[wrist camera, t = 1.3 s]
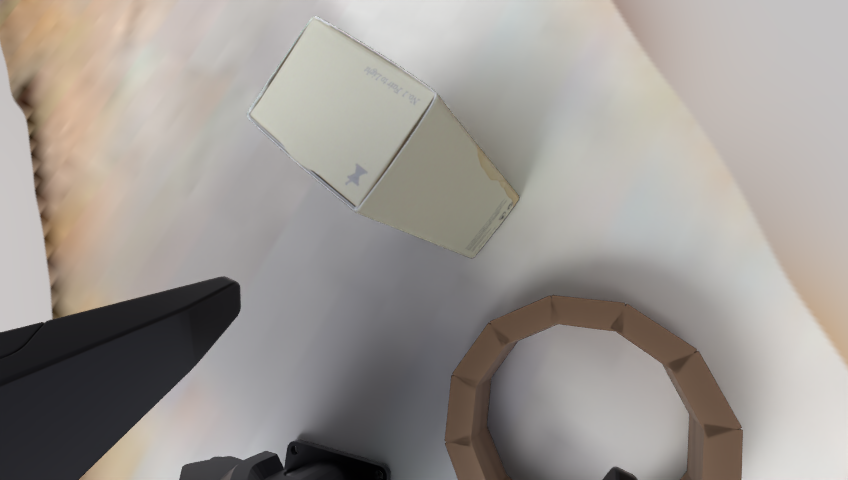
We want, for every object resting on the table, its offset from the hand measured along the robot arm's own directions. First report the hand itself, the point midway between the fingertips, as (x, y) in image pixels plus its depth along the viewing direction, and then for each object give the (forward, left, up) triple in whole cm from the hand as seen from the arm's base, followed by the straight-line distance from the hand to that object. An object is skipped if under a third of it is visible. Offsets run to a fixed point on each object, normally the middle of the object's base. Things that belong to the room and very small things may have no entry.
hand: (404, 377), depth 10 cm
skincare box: (-4, +7, -14) cm, 16 cm away
